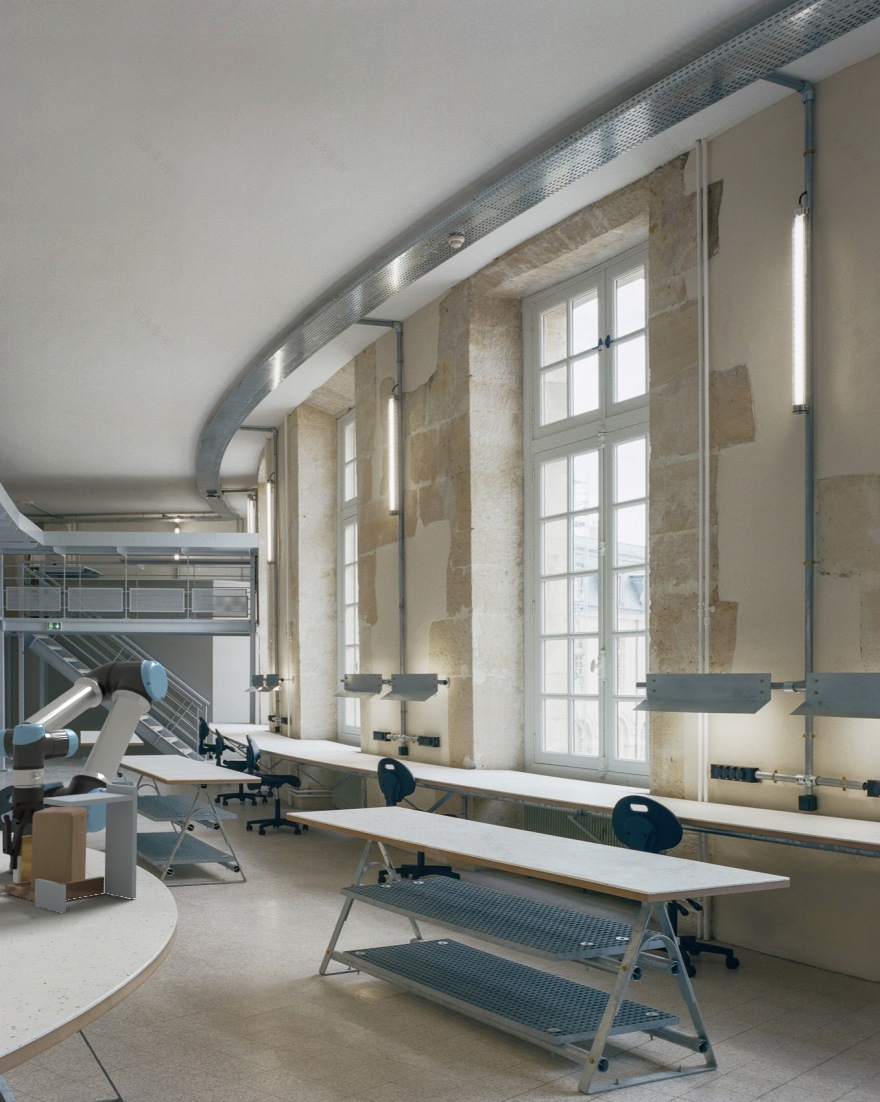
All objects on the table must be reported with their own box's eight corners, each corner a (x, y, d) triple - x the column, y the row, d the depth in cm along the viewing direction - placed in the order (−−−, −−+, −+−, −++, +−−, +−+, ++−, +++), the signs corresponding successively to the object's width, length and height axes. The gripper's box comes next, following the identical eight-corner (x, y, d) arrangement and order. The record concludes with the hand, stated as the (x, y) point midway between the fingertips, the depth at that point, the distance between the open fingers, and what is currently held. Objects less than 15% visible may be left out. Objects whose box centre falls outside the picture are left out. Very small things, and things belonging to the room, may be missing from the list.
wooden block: (86, 889, 271) (88, 806, 272) (69, 898, 261) (71, 812, 263) (47, 889, 271) (49, 806, 273) (28, 898, 262) (31, 812, 263)
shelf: (34, 906, 254) (37, 790, 257) (108, 892, 268) (110, 783, 270) (60, 913, 246) (63, 794, 248) (135, 899, 260) (137, 786, 262)
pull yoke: (-8, 889, 272) (-7, 839, 274) (48, 880, 284) (50, 832, 285) (45, 904, 255) (47, 851, 256) (103, 894, 266) (105, 843, 267)
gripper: (2, 790, 270) (-1, 888, 268) (66, 783, 283) (65, 877, 280) (-12, 788, 275) (-15, 884, 273) (52, 782, 288) (50, 874, 285)
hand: (26, 880), depth 276 cm, fingers closed on pull yoke, 4 cm apart
